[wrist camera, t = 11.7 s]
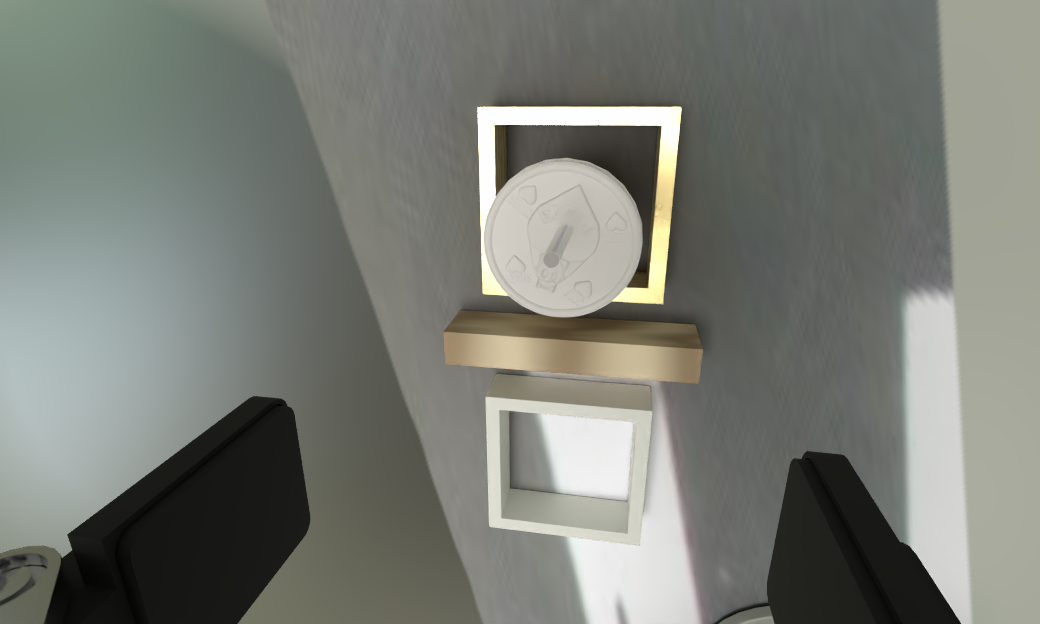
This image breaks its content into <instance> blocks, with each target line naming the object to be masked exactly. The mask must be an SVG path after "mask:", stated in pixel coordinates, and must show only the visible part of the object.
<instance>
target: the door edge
mask: <svg viewBox="0 0 1040 624" xmlns="http://www.w3.org/2000/svg"><path fill="white" fill-rule="evenodd" d="M444 349H445V364H452V365H465V366H477V367H490V368H503V369H516V370H528V371H541V372H554V373H567V374H579V375H592V376H605V377H618V378H630V379H643V380H656V381H669V382H681V383H694V384H699V378H700V370H701V362H702V354H703V348H702V345H701V341H700V338H699V335H698V332H697V329H696V325H694V324H678V323H661V322H645V321H629V320H613V319H596V318H580V317H552V316H547V315H531V314H515V313H499V312H483V311H466V310H460V312H459V313H458V314H457V315H456V317H455V318H454V319H453V320H452V322H451V323H450V324H449V326H448V327H447V328H446V329H445V331H444Z"/></svg>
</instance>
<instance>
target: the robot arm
mask: <svg viewBox="0 0 1040 624" xmlns="http://www.w3.org/2000/svg"><path fill="white" fill-rule="evenodd" d="M309 524H310V512H309V505H308V499H307V493H306V486H305V480H304V473H303V468H302V460H301V454H300V448H299V441H298V435H297V428H296V422H295V415H294V411H293V410H292V408H290V407H288V406H287V404H286V402H285V401H284V400H283V399H279V398H269V397H258V396H253V397H251V398H249V399H248V400H247V401H245V402H244V403H242V404H241V405H240V406H238V407H237V408H236V409H234V410H233V411H232V412H231V413H229V414H228V415H226V416H225V417H224V418H222V419H221V420H220V421H218V422H217V423H216V424H215V425H213V426H212V427H210V428H209V429H208V430H206V431H205V432H204V433H202V434H201V435H200V436H198V437H197V438H196V439H194V440H193V441H192V442H190V443H189V444H188V445H186V446H185V447H184V448H182V449H181V450H180V451H178V452H177V453H176V454H174V455H173V456H172V457H170V458H169V459H168V460H166V461H165V462H164V463H162V464H161V465H160V466H159V467H157V468H156V469H154V470H153V471H152V472H150V473H149V474H148V475H146V476H145V477H144V478H142V479H141V480H140V481H138V482H137V483H136V484H134V485H133V486H132V487H130V488H129V489H128V490H126V491H125V492H124V493H122V494H121V495H120V496H118V497H117V498H116V499H114V500H113V501H112V502H110V503H109V504H108V505H106V506H105V507H104V508H102V509H101V510H100V511H98V512H97V513H96V514H94V515H93V516H92V517H90V518H89V519H87V520H86V521H85V522H83V523H82V524H81V525H79V526H78V527H77V528H75V529H74V530H73V531H71V532H70V533H69V534H68V538H69V541H70V544H71V547H72V551H71V552H69V553H68V554H67V555H66V556H64V557H63V558H61V555H60V554H59V553H58V552H57V551H56V550H55V549H54V548H50V547H47V546H27V547H22V548H18V549H13V550H9V551H6V552H3V553H0V624H238V622H239V621H240V620H241V618H242V617H243V616H244V614H245V613H246V612H247V611H248V609H249V608H250V607H251V605H252V604H253V603H254V601H255V600H256V599H257V597H258V596H259V595H260V594H261V592H262V591H263V590H264V588H265V587H266V586H267V585H268V583H269V582H270V581H271V579H272V578H273V577H274V575H275V574H276V573H277V571H278V570H279V569H280V568H281V566H282V565H283V564H284V562H285V561H286V560H287V559H288V557H289V556H290V555H291V553H292V552H293V551H294V549H295V548H296V547H297V545H298V544H299V543H300V541H301V540H302V539H303V538H304V536H305V535H306V533H307V531H308V528H309ZM767 596H768V602H769V606H765V607H758V608H753V609H750V610H746V611H743V612H739V613H737V614H735V615H733V616H731V617H729V618H726V619H724V620H723V621H721V622H720V623H719V624H961V623H960V621H959V620H958V618H957V616H956V615H955V613H954V612H953V610H952V609H951V607H950V606H949V604H948V603H947V601H946V600H945V598H944V596H943V595H942V593H941V592H940V590H939V589H938V587H937V586H936V584H935V583H934V581H933V580H932V578H931V576H930V575H929V573H928V572H927V570H926V569H925V567H924V566H923V564H922V563H921V561H920V559H919V558H918V556H917V555H916V553H915V552H914V551H913V550H912V549H911V548H910V546H908V545H906V544H904V543H902V542H899V540H898V538H897V537H896V535H895V534H894V532H893V530H892V529H891V527H890V526H889V524H888V523H887V521H886V519H885V518H884V516H883V515H882V513H881V511H880V510H879V508H878V507H877V505H876V503H875V502H874V500H873V499H872V497H871V496H870V494H869V492H868V491H867V489H866V488H865V486H864V484H863V483H862V481H861V480H860V478H859V476H858V475H857V473H856V472H855V470H854V469H853V467H852V465H851V464H850V462H849V461H848V459H847V458H846V457H845V456H844V455H841V454H831V453H821V452H811V451H807V452H805V453H804V455H803V457H802V459H795V458H794V459H793V460H792V461H791V464H790V468H789V473H788V478H787V483H786V489H785V494H784V499H783V504H782V509H781V514H780V519H779V524H778V529H777V534H776V539H775V544H774V549H773V555H772V560H771V565H770V570H769V575H768V581H767Z"/></svg>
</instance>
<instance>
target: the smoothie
mask: <svg viewBox="0 0 1040 624" xmlns="http://www.w3.org/2000/svg"><path fill="white" fill-rule="evenodd" d="M483 241H484V251H485V256H486V260H487V263H488V266H489V268H490V271H491V273H492V275H493V276H494V278H495V280H496V281H497V283H498V284H499V285H500V287H501V288H502V289H503V290H504V291H505V293H506V294H507V295H509V296H510V297H511V298H512V299H513V300H514V301H516V302H517V303H518V304H520V305H522V306H523V307H525V308H527V309H529V310H531V311H534V312H536V313H539V314H543V315H547V316H552V317H576V316H581V315H585V314H589V313H591V312H594V311H596V310H598V309H600V308H602V307H604V306H606V305H607V304H609V303H610V302H611V301H613V300H614V299H615V298H616V297H617V296H618V295H620V294H621V292H622V291H623V290H624V289H625V288H626V286H627V285H628V284H629V282H630V281H631V279H632V277H633V275H634V273H635V271H636V269H637V266H638V263H639V259H640V255H641V249H642V245H643V238H642V222H641V218H640V215H639V212H638V209H637V206H636V203H635V201H634V200H633V198H632V197H631V195H630V194H629V192H628V191H627V189H626V188H625V186H624V185H623V184H622V183H621V182H620V181H619V180H617V179H616V178H615V177H614V176H613V175H612V174H611V173H609V172H608V171H607V170H605V169H603V168H600V167H598V166H596V165H594V164H592V163H590V162H588V161H582V160H576V159H571V158H560V159H549V160H544V161H541V162H539V163H536V164H533V165H531V166H528V167H526V168H524V169H523V170H522V171H520V172H519V173H518V174H516V175H515V176H514V177H512V178H511V179H510V180H509V181H508V182H507V183H506V184H505V186H504V187H503V188H502V189H501V190H500V192H499V193H498V194H497V196H496V197H495V199H494V201H493V202H492V204H491V206H490V209H489V211H488V214H487V217H486V221H485V226H484V238H483Z"/></svg>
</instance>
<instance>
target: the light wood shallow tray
mask: <svg viewBox="0 0 1040 624" xmlns="http://www.w3.org/2000/svg"><path fill="white" fill-rule="evenodd" d="M680 118H681V107H478V135H479V171H480V208H481V244H482V281H483V294H493V295H507V294H506V293H505V291H504V290H503V289H502V288H501V287H500V285H499V284H498V283H497V281H496V280H495V278H494V276H493V275H492V273H491V271H490V268H489V266H488V263H487V260H486V256H485V251H484V241H483V238H484V226H485V221H486V217H487V214H488V211H489V209H490V206H491V204H492V202H493V201H494V199H495V197H496V196H497V194H498V193H499V192H500V190H501V189H502V188H503V187H504V186H505V184H506V183H507V148H506V125H658V134H657V147H656V159H655V171H654V183H653V195H652V208H651V220H650V232H649V244H648V256H647V268H646V272H635V273H634V275H633V277H632V279H631V281H630V282H629V284H628V285H627V286H626V288H625V289H624V290H623V291H622V292H621V294H620V295H618V296H617V297H616V298H615V299H614V300H613V301H617V302H635V303H653V304H663V296H664V286H665V275H666V265H667V254H668V244H669V233H670V223H671V212H672V202H673V191H674V181H675V170H676V160H677V149H678V139H679V128H680Z"/></svg>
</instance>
